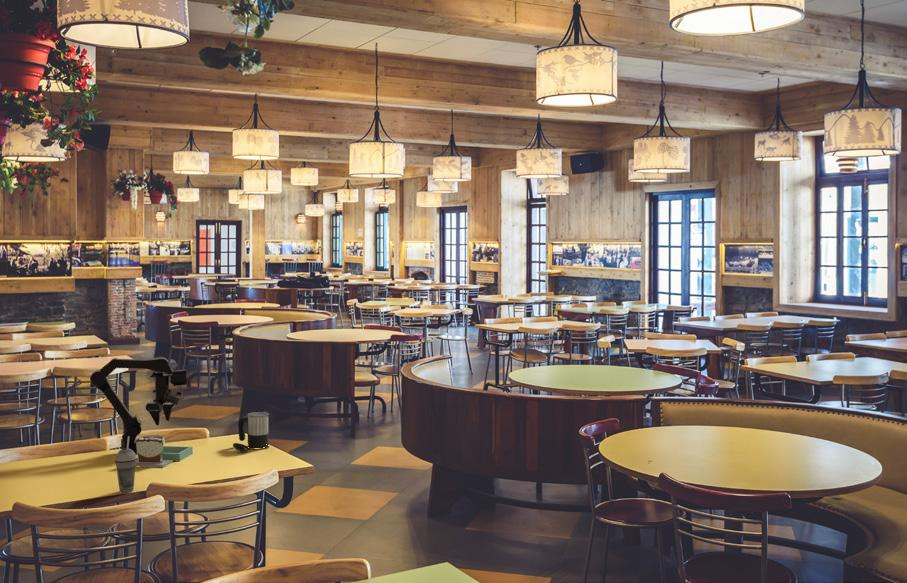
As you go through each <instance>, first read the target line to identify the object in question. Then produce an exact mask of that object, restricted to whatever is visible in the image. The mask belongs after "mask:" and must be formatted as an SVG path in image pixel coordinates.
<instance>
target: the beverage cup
mask: <svg viewBox="0 0 907 583" xmlns="http://www.w3.org/2000/svg"><path fill="white" fill-rule="evenodd" d="M128 445H129V436H128V440H127V448H124V449H121V448H120V449H119V451H118V452H117V453H116V455H115V460H114V464H115V466H116V474H117V482H118V489H119V493H120V492H121V493H120V494H124V493H125V494H129V493H128V492H131V493H133V492H134V489H135V488H134V487H135V475H136V467H135V465H136V461H137V460H138V457H137V455H136V454H137V453H136V454H135V453H134V451H133V450H131V449H129V448H128ZM132 491H133V492H132Z"/></svg>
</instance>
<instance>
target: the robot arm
mask: <svg viewBox="0 0 907 583" xmlns="http://www.w3.org/2000/svg"><path fill="white" fill-rule="evenodd" d="M116 369H138V370H142V369H145V370H148V371H149V370H150V371H152V373H151V374H150V375H149V378H154V389H153V390H152V393H154V397H155V398H154V399H153V401H150V402H148V403H146V404H145V411H147V412H148V414H149V415H150V417H151V418H152V420H153V422H154V423H155V425H156V426H159V425H160V421H161V413H162V412H163V414H164V416H165V420H166V421H167V422H169V421H170V419H171V415H172V412H173V409H174V407H176V406H178V405H180V404H182V400H184V391H180V390H179V391H177V392H173V390H172V388H170V385H172V386H173V387H182V386H188V378H187V377H188V376H187V369H181V370H173V368H172V367H171V366H170V365H169V360H168V359H167V358H166V357H163V356H157V357H152V358H148V359H145V358H143V359H141V358H139V359H138V358H137V359H136V358H134V359H133V358H117V357H113V358H111V360H110V361H109V362H108V363H106V364H105V365H104V366H103V367H102V368H100V369H99V368H98V369H96V370H94V371H93V372H92V373H91V375H90V382H91V383H92V384H93V385H94V386H95V387H96V388H97V389H98V390H99V391H101V392H102V393H103V395H104V396H105V397H106V399H107V400H108V402H109V403H110V404H111V407H113V409H114V410H115V412H116V413H117V414H118V416H119V418H120V419H121V420H122V423H123V426H124V428H125V430H124V431H123V432H122V433H121V434H122V435H121V439H120V450H121V449H124V448H127V440H128V436H129V445H128V448H129V449H131V450H133V451H134V453H135V454H137V447H136V443H134V442H135V439H136V438H137V437H138V436H139V435H140V434H141V433H142V429H143V425H142V424H143V423H142V422H143V421H142V420H141V419H140V418H139V417H138V415H137V413H136V414H134V415H133V414H132V413H131V412H130V411H129V409H128V408H127V407H126V405H125V404H124V403H123V401H122V399H121V398H120V397H119V395H118V394H117V393H116V391H115V390H114V388H113V387H112V384H111V382H110V379H109V377H108V376H109V375H111V374H112V373H113V372H114V371H115V370H116Z"/></svg>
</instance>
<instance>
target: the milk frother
mask: <svg viewBox="0 0 907 583" xmlns="http://www.w3.org/2000/svg"><path fill="white" fill-rule="evenodd" d="M269 415H270V413H269V412H265V411H264V412H262V411H256V412H254V411H253V412H249V413H247V414H246V415H245V416H242V417H240V419H238V422H237V427H238V439H239V441H240V442H243V441H245V440H246V427H245V426H246V425H245V422H247V445H245V444H243V443H238V442H234V443H233V444H232V447H233V448H234V449H235V450H236V451H239V452H240V453H241V452H242V453H249V452H250V450H251V449H249V448H263V447H265V449H268V448H270V445H269ZM266 444H267V445H266ZM268 445H269V446H268ZM248 447H249V448H248ZM267 447H268V448H267ZM248 451H249V452H248Z"/></svg>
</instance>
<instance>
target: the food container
mask: <svg viewBox="0 0 907 583" xmlns="http://www.w3.org/2000/svg"><path fill="white" fill-rule="evenodd" d="M134 443H136V447H137V453H136V454H137V455H136V456H137V460H138V463H162V456H163V446H164V444H165V443H166V440H165V437H164V436H163V435H159V434H158V435H157V434H149V435H141V436H137V437H136V439H135V442H134Z"/></svg>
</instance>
